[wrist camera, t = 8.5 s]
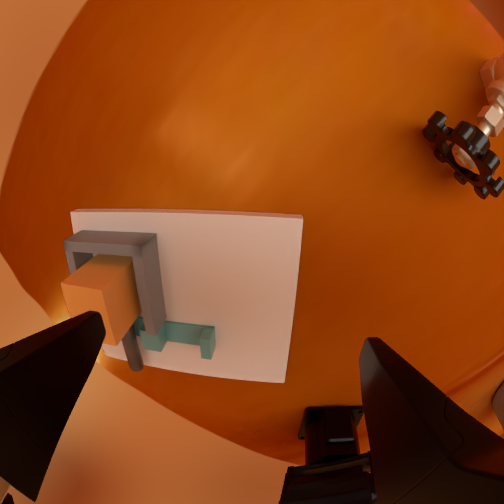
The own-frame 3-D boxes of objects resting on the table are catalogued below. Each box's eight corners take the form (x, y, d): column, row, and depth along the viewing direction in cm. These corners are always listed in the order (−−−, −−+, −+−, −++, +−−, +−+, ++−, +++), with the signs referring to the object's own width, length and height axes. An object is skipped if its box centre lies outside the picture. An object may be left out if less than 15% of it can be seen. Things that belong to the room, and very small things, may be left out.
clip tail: (159, 337, 23) (152, 350, 22) (112, 328, 24) (103, 340, 22) (156, 318, 23) (148, 331, 21) (107, 310, 23) (97, 321, 21)
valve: (478, 38, 12) (406, 121, 16) (527, 22, 6) (457, 119, 10) (521, 101, 13) (458, 189, 17) (572, 103, 7) (512, 213, 11)
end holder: (166, 317, 22) (155, 336, 20) (97, 306, 23) (83, 321, 21) (156, 232, 20) (141, 245, 17) (81, 230, 20) (62, 240, 18)
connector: (159, 364, 25) (138, 407, 20) (126, 357, 25) (102, 396, 20) (139, 254, 20) (101, 290, 15) (101, 251, 21) (60, 282, 16)
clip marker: (215, 345, 23) (211, 359, 21) (159, 337, 23) (152, 350, 22) (214, 326, 22) (209, 340, 21) (156, 318, 23) (148, 331, 21)
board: (284, 375, 25) (284, 382, 24) (109, 349, 26) (105, 355, 25) (302, 214, 19) (303, 218, 18) (77, 208, 21) (70, 212, 20)
